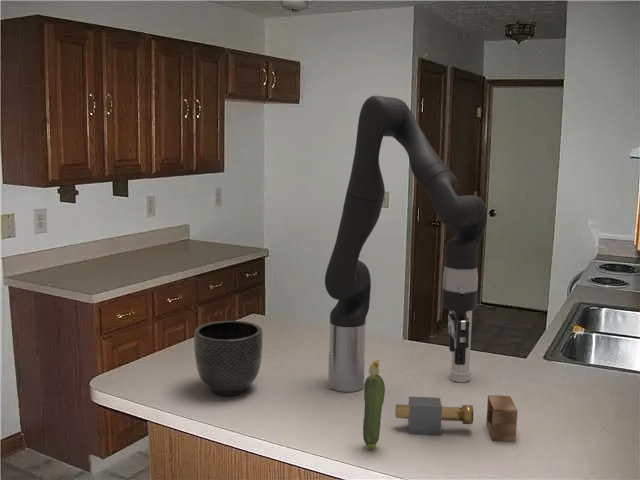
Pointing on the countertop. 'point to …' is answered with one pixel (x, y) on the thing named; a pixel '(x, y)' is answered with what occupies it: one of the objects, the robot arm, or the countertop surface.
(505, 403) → the socket
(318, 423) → the countertop surface
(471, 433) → the countertop surface
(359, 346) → the robot arm
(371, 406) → the vegetable
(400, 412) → the tube
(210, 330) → the planter
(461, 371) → the pipe
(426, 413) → the sleeve
